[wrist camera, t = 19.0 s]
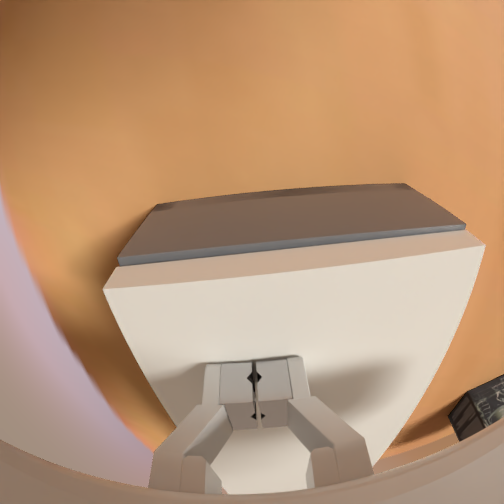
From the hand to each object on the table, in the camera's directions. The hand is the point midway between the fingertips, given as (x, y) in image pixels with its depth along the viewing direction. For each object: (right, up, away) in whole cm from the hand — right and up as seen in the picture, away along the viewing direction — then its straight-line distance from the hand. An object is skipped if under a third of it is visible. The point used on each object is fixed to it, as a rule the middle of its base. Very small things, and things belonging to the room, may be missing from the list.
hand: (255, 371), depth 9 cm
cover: (+3, -6, +5) cm, 8 cm away
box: (+31, -15, +17) cm, 38 cm away
